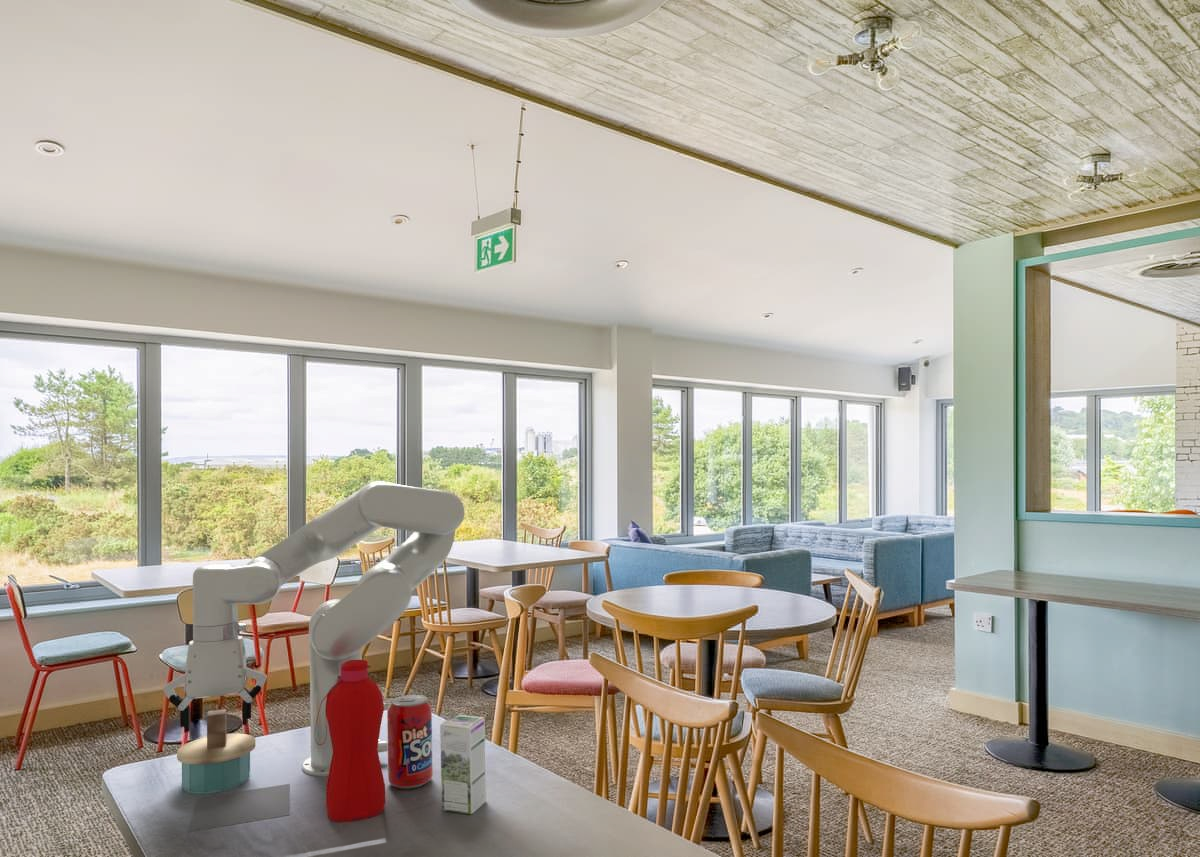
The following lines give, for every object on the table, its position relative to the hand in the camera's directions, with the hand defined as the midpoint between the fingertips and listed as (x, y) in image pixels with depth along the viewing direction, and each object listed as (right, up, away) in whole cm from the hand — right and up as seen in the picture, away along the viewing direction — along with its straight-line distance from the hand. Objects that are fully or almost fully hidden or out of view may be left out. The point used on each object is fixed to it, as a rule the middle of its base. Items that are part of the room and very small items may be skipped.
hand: (216, 726), depth 150 cm
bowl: (0, -10, 0) cm, 10 cm away
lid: (0, -4, 0) cm, 4 cm away
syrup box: (+48, -9, -12) cm, 50 cm away
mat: (+10, -10, -12) cm, 18 cm away
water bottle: (+29, -10, -14) cm, 34 cm away
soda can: (+36, -10, -2) cm, 37 cm away
